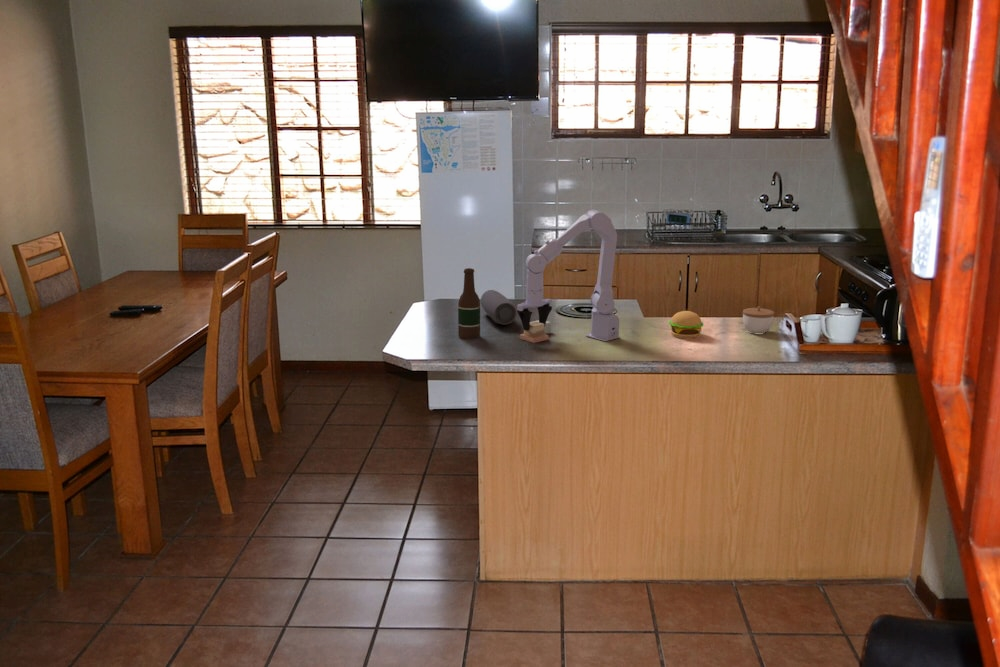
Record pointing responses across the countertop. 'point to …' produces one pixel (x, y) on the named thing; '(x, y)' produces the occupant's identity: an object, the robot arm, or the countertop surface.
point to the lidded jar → (757, 319)
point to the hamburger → (686, 325)
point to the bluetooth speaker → (498, 307)
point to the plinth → (534, 338)
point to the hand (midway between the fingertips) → (534, 328)
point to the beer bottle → (469, 308)
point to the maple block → (535, 329)
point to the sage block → (547, 327)
